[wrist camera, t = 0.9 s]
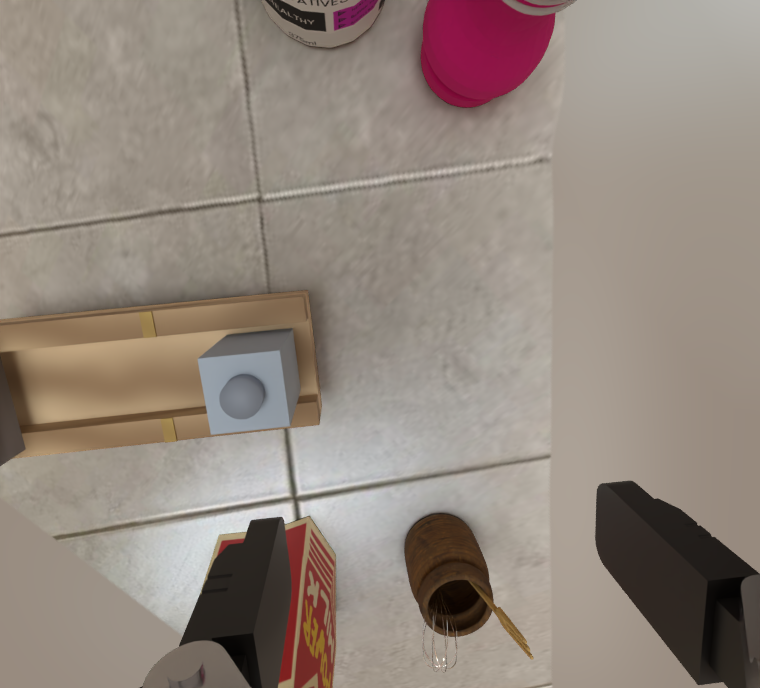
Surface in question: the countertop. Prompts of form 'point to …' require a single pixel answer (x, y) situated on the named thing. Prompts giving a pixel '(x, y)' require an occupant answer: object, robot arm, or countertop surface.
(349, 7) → the supplement can
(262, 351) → the rider
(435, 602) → the utensil holder
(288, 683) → the milk carton
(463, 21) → the pepper mill
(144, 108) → the countertop surface
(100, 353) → the beam
